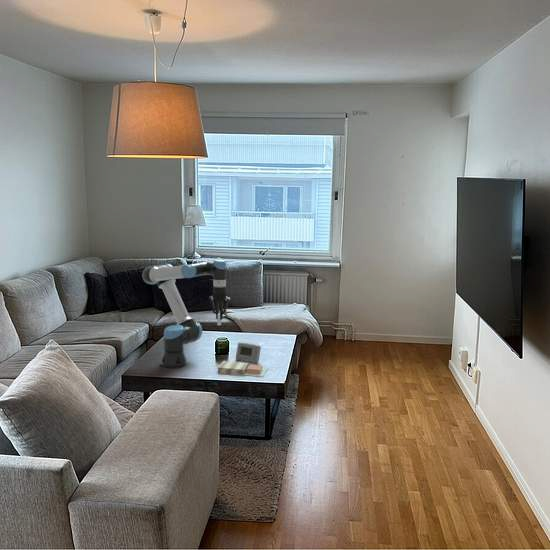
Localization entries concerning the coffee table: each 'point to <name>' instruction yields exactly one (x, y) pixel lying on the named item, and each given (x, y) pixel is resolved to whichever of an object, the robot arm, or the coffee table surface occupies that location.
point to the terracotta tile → (254, 369)
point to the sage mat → (257, 374)
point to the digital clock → (248, 352)
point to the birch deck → (233, 367)
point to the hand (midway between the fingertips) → (219, 324)
